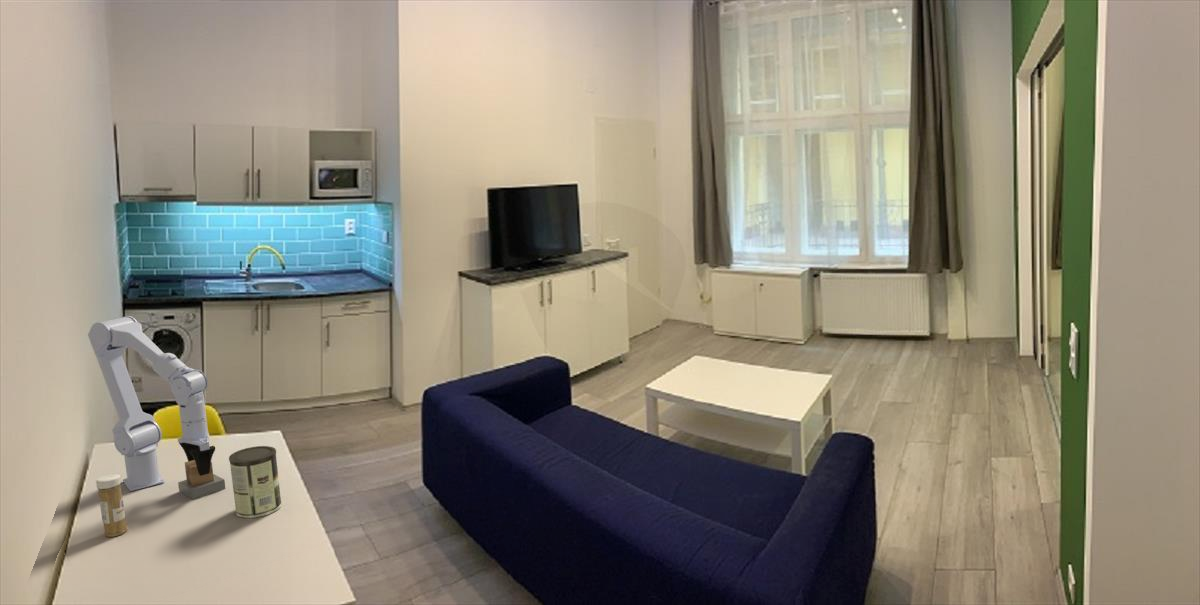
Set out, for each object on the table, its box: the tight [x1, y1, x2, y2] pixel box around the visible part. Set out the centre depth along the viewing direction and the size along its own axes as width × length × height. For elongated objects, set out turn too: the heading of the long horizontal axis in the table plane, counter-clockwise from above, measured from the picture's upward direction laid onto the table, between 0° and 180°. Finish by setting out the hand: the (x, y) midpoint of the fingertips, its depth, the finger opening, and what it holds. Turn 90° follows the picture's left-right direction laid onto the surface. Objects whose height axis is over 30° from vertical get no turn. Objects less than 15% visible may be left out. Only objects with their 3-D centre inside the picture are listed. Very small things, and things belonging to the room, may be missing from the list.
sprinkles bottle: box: [95, 473, 128, 538], centre depth 172 cm, size 5×5×13 cm
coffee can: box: [228, 445, 282, 519], centre depth 182 cm, size 10×10×14 cm
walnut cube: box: [184, 460, 214, 486], centre depth 195 cm, size 5×5×5 cm
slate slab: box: [177, 473, 226, 500], centre depth 195 cm, size 8×8×3 cm
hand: (199, 470), depth 195 cm, fingers open, 7 cm apart
